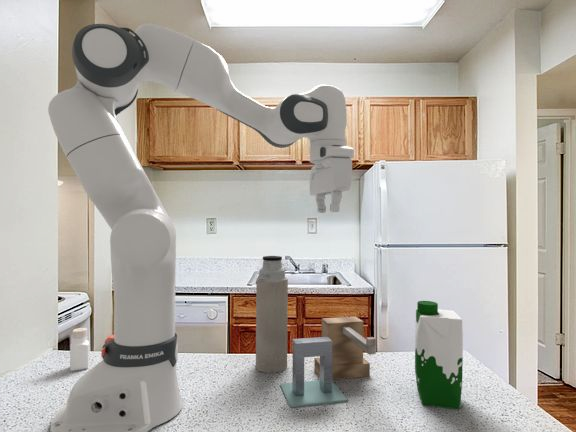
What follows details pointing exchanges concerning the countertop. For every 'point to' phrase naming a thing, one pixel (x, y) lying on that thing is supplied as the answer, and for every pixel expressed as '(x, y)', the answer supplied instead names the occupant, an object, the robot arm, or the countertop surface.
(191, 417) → the countertop surface
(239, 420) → the countertop surface
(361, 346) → the wooden peg hook block
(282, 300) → the thermos bottle
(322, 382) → the grey arched block
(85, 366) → the salt shaker
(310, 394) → the mat
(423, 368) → the milk carton
